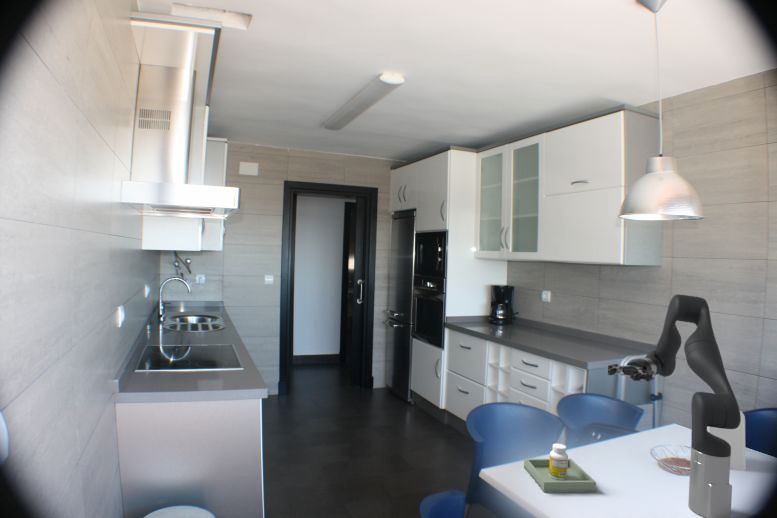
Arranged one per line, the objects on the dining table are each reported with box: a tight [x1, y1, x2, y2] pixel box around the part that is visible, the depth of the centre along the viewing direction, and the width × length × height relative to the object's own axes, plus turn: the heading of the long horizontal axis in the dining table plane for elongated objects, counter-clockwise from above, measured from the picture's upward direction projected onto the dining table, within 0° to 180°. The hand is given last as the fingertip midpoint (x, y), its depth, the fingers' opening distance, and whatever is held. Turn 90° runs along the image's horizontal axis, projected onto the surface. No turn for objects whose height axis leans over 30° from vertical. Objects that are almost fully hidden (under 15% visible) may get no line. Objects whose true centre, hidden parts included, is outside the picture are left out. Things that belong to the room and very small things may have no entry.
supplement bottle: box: [549, 443, 569, 480], centre depth 150 cm, size 5×5×10 cm
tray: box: [523, 458, 597, 493], centre depth 150 cm, size 16×16×3 cm
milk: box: [707, 410, 747, 472], centre depth 168 cm, size 12×12×26 cm
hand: (621, 375), depth 164 cm, fingers open, 8 cm apart
